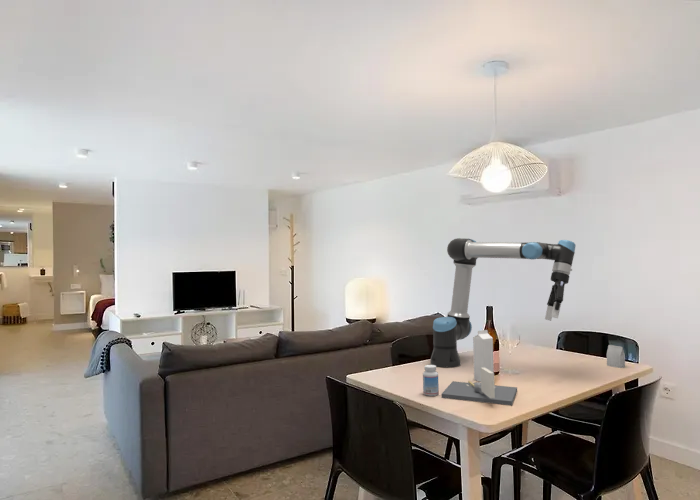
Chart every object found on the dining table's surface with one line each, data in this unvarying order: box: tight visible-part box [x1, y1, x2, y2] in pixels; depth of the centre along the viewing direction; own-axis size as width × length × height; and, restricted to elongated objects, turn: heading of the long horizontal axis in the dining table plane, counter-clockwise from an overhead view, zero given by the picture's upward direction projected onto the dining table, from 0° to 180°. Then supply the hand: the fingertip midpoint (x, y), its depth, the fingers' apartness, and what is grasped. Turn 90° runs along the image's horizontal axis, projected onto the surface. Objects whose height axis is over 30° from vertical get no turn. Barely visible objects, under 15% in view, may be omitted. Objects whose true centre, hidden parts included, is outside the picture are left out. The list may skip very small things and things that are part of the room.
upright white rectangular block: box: [467, 368, 495, 398], centre depth 182 cm, size 25×4×10 cm, turn 5°
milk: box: [472, 329, 495, 382], centre depth 205 cm, size 6×6×22 cm
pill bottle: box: [422, 364, 440, 397], centre depth 186 cm, size 6×6×11 cm
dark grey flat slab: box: [441, 380, 518, 406], centre depth 184 cm, size 26×20×2 cm
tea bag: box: [606, 344, 626, 369], centre depth 227 cm, size 4×7×10 cm, turn 31°
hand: (551, 318), depth 209 cm, fingers open, 13 cm apart
